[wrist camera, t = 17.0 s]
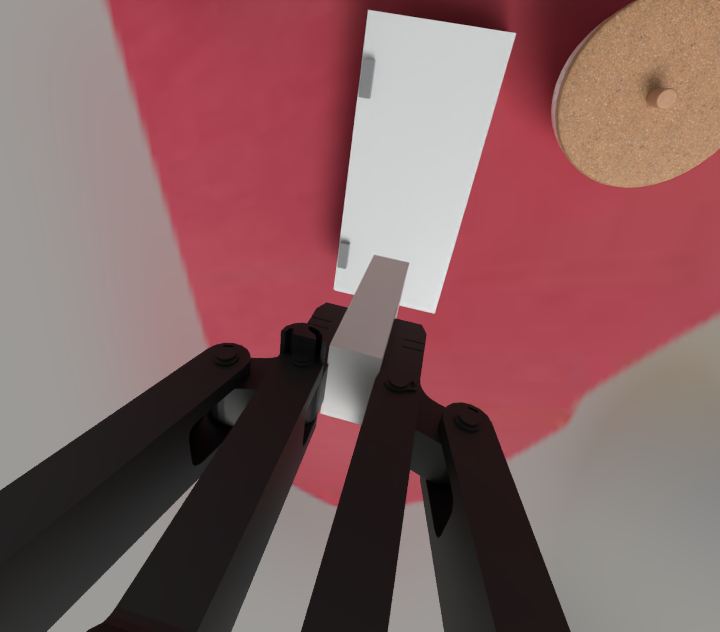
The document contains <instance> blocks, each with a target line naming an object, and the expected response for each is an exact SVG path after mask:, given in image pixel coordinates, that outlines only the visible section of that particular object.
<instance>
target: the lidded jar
mask: <svg viewBox="0 0 720 632" xmlns="http://www.w3.org/2000/svg"><path fill="white" fill-rule="evenodd" d="M551 121H552V126H553V131H554V135H555V137H556V140H557V142H558V145H559V146H560V148H561V149H562V151H563V153H564V154H565V155H566V157H567V158H568V160H569V161H570V162H571V163H572V164H573V165H574V166H575V167H576V169H577V170H579V171H580V172H581V173H583V174H584V175H586V176H587V177H588V178H590V179H592V180H595V181H597V182H599V183H602V184H606V185H609V186H614V187H625V188H629V187H643V186H648V185H653V184H657V183H660V182H663V181H667V180H670V179H672V178H674V177H676V176H679V175H681V174H683V173H685V172H687V171H689V170H690V169H692V168H694V167H695V166H697V165H699V164H700V163H702V162H703V161H704V160H706V159H707V158H708V157H709V156H711V155H712V154H713V153H715V152H716V151H717V150H718V149H719V148H720V0H635V1H633V2H631V3H630V4H628V5H626V6H625V7H623V8H622V9H620V10H619V11H617V12H616V13H614V14H613V15H612V16H610V17H609V18H607V19H605V20H604V21H603V22H602V23H600V24H599V25H598V26H597V27H596V28H595V29H593V30H592V31H591V32H590V33H589V34H588V35H587V36H586V37H585V38H584V39H583V40H582V42H581V43H580V44H579V45H578V46H577V47H576V49H575V50H574V51H573V53H572V54H571V55H570V57H569V58H568V60H567V62H566V63H565V65H564V67H563V69H562V71H561V73H560V75H559V78H558V80H557V83H556V86H555V89H554V93H553V97H552V106H551Z"/></svg>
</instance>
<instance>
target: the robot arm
mask: <svg viewBox="0 0 720 632" xmlns="http://www.w3.org/2000/svg"><path fill="white" fill-rule="evenodd" d="M408 267H409V262H404V261H400V260H396V259H391V258H387V257H383V256H378V255H374V256H373V258H372V260H371V262H370V264H369V266H368V268H367V270H366V272H365V274H364V276H363V278H362V280H361V282H360V284H359V286H358V288H357V290H356V292H355V294H354V297H353V299H352V301H351V303H350V305H349V307H348V308H347V307H343V306H339V305H334V304H330V303H325V304H323V305H321V306H320V307H318V308H317V309H316V310H315V312H314V313H313V315H312V317H311V318H310V320H309V321H308V323H295V324H291V325H288V326H286V327H285V328H284V329H283V330H281V344H280V354H279V356H278V357H274V358H250V353H249V351H248V350H247V349H246V348H244V347H243V346H241V345H238V344H235V343H222V344H217V345H214V346H212V347H210V348H208V349H206V350H205V351H204V352H202V353H201V354H199V355H198V356H196V357H195V358H193V359H192V360H190V361H189V362H187V363H186V364H185V365H183V366H182V367H180V368H179V369H177V370H176V371H174V372H173V373H171V374H170V375H169V376H167V377H166V378H164V379H163V380H161V381H160V382H158V383H157V384H155V385H154V386H152V387H151V388H149V389H148V390H147V391H145V392H144V393H142V394H141V395H139V396H138V397H136V398H135V399H133V400H132V401H130V402H129V403H128V404H126V405H125V406H123V407H122V408H120V409H119V410H117V411H116V412H114V413H113V414H112V415H110V416H108V417H107V418H106V419H104V420H103V421H101V422H100V423H98V424H97V425H95V426H94V427H92V428H91V429H89V430H88V431H86V432H85V433H84V434H82V435H81V436H79V437H78V438H77V439H75V440H73V441H72V442H70V443H69V444H68V445H66V446H65V447H63V448H62V449H60V450H59V451H57V452H56V453H54V454H53V455H51V456H50V457H48V458H47V459H46V460H44V461H43V462H41V463H40V464H38V465H37V466H36V467H34V468H32V469H31V470H29V471H28V472H27V473H25V474H24V475H22V476H21V477H19V478H18V479H16V480H15V481H13V482H12V483H10V484H9V485H7V486H6V487H5V488H3V489H2V490H0V632H47V630H49V629H50V628H51V627H52V626H53V625H54V624H55V623H56V622H57V620H59V618H61V617H62V616H63V615H64V613H66V611H68V609H70V607H71V606H72V605H73V604H74V603H75V602H76V601H77V600H78V599H79V598H80V597H81V596H82V595H83V594H84V593H85V592H86V591H87V590H88V589H89V588H90V587H91V586H92V585H93V584H94V583H95V582H96V581H97V580H98V579H99V578H100V577H101V576H102V575H103V574H104V573H105V572H106V571H107V570H108V569H109V568H110V567H111V566H112V565H113V564H114V563H115V562H116V561H117V560H118V559H119V558H120V557H121V556H122V555H123V554H124V553H125V552H126V551H127V550H128V549H129V548H130V547H131V546H132V545H133V544H134V543H135V542H136V541H137V540H138V539H139V538H140V537H141V536H142V535H143V534H144V533H145V532H146V531H147V530H148V529H149V528H150V527H151V526H152V525H153V524H154V523H155V522H156V521H157V520H158V519H159V518H160V517H161V516H162V515H163V514H164V513H165V512H166V511H167V510H168V509H169V508H170V507H171V506H172V505H173V504H174V503H175V502H176V501H177V500H178V499H179V498H180V497H181V496H182V495H183V494H184V493H185V492H186V491H187V490H188V489H189V488H190V487H191V486H192V485H193V484H194V483H195V482H196V481H197V480H198V479H199V480H198V482H197V483H196V484H195V486H194V488H193V489H192V491H191V492H190V494H189V495H188V497H187V498H186V500H185V501H184V503H183V505H182V506H181V508H180V509H179V511H178V512H177V514H176V515H175V517H174V518H173V520H172V521H171V523H170V525H169V526H168V528H167V529H166V531H165V532H164V534H163V535H162V537H161V539H160V540H159V542H158V543H157V545H156V546H155V548H154V549H153V551H152V552H151V554H150V556H149V557H148V559H147V560H146V562H145V563H144V565H143V566H142V568H141V569H140V571H139V573H138V574H137V576H136V577H135V579H134V580H133V582H132V583H131V585H130V586H129V588H128V589H127V591H126V593H125V594H124V596H123V597H122V599H121V600H120V602H119V603H118V605H117V606H116V608H115V609H114V611H113V612H112V613H111V615H110V616H109V617H108V618H107V619H106V620H105V621H104V622H103V623H101V624H99V625H97V626H95V627H93V628H91V629H89V630H88V631H87V632H231V631H232V628H233V626H234V623H235V621H236V619H237V616H238V614H239V611H240V609H241V606H242V604H243V601H244V599H245V597H246V594H247V592H248V589H249V587H250V585H251V582H252V580H253V577H254V575H255V573H256V570H257V568H258V565H259V563H260V560H261V558H262V555H263V553H264V551H265V548H266V546H267V543H268V541H269V539H270V536H271V534H272V531H273V529H274V526H275V524H276V522H277V519H278V517H279V514H280V512H281V510H282V507H283V505H284V502H285V500H286V497H287V495H288V493H289V490H290V488H291V485H292V483H293V480H294V478H295V476H296V473H297V471H298V468H299V466H300V464H301V461H302V459H303V456H304V454H305V451H306V449H307V447H308V444H309V442H310V439H311V437H312V434H313V432H314V430H315V427H316V421H317V414H318V412H319V410H320V407H321V405H322V407H321V414H324V415H328V416H332V417H335V418H339V419H342V420H346V421H350V422H353V423H357V424H361V428H360V432H359V435H358V439H357V442H356V446H355V449H354V452H353V456H352V459H351V463H350V466H349V469H348V473H347V476H346V480H345V483H344V487H343V490H342V493H341V497H340V500H339V504H338V507H337V510H336V514H335V518H334V521H333V524H332V528H331V531H330V534H329V538H328V541H327V545H326V548H325V552H324V555H323V558H322V562H321V565H320V568H319V572H318V576H317V579H316V583H315V586H314V589H313V592H312V596H311V599H310V603H309V606H308V609H307V613H306V616H305V620H304V623H303V627H302V630H301V632H388V625H389V618H390V610H391V603H392V596H393V588H394V582H395V574H396V567H397V560H398V553H399V545H400V537H401V531H402V523H403V516H404V509H405V502H406V495H407V487H408V480H409V473H410V470H412V471H414V472H415V473H417V474H418V475H420V482H421V488H422V495H423V501H424V507H425V513H426V520H427V526H428V532H429V538H430V545H431V551H432V558H433V564H434V570H435V577H436V583H437V589H438V595H439V602H440V607H441V614H442V621H443V627H444V632H571V631H570V629H569V626H568V624H567V621H566V618H565V616H564V613H563V610H562V608H561V605H560V602H559V600H558V597H557V595H556V592H555V589H554V586H553V584H552V581H551V579H550V576H549V573H548V571H547V568H546V566H545V563H544V560H543V557H542V555H541V552H540V549H539V547H538V544H537V541H536V539H535V536H534V534H533V531H532V528H531V526H530V523H529V520H528V518H527V515H526V512H525V510H524V507H523V504H522V502H521V499H520V496H519V494H518V491H517V488H516V486H515V483H514V480H513V478H512V475H511V473H510V470H509V467H508V464H507V462H506V459H505V457H504V454H503V451H502V449H501V446H500V443H499V441H498V438H497V435H496V433H495V430H494V427H493V425H492V423H491V421H490V419H489V418H488V416H487V415H486V414H485V413H484V412H483V411H481V410H480V409H479V408H477V407H475V406H473V405H470V404H466V403H452V404H450V405H448V406H447V407H444V406H442V405H440V404H438V403H436V402H435V401H433V400H432V399H430V398H429V397H428V396H427V395H426V394H425V393H424V391H423V390H422V388H421V385H420V376H421V369H422V362H423V355H424V348H425V341H426V333H425V330H424V328H423V326H422V325H420V324H416V323H412V322H408V321H404V320H400V319H396V317H397V313H398V309H399V305H400V301H401V296H402V292H403V288H404V284H405V279H406V275H407V271H408Z"/></svg>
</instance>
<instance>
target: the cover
mask: <svg viewBox="0 0 720 632" xmlns="http://www.w3.org/2000/svg"><path fill="white" fill-rule="evenodd" d="M515 36H516V33H512V32H505V31H499V30H493V29H486V28H480V27H474V26H467V25H461V24H455V23H448V22H442V21H436V20H429V19H423V18H417V17H410V16H404V15H398V14H391V13H385V12H379V11H372V10H368V15H367V23H366V31H365V40H364V48H363V56H362V64H361V72H360V80H359V88H358V96H357V105H356V113H355V121H354V129H353V137H352V145H351V153H350V161H349V170H348V178H347V186H346V194H345V202H344V210H343V218H342V227H341V235H340V243H339V251H338V259H337V267H336V275H335V283H334V290H336V291H340V292H344V293H349V294H353V295H354V294H355V292H356V290H357V288H358V286H359V284H360V282H361V280H362V278H363V276H364V274H365V272H366V270H367V268H368V266H369V264H370V262H371V260H372V258H373V256H374V255H378V256H383V257H387V258H391V259H396V260H400V261H404V262H409V267H408V271H407V275H406V279H405V284H404V288H403V292H402V296H401V301H400V306H404V307H409V308H413V309H417V310H421V311H426V312H430V313H434V314H435V310H436V307H437V304H438V300H439V297H440V293H441V290H442V286H443V283H444V280H445V276H446V273H447V269H448V266H449V262H450V259H451V256H452V252H453V249H454V245H455V242H456V238H457V235H458V232H459V228H460V225H461V221H462V218H463V214H464V211H465V208H466V204H467V201H468V197H469V194H470V190H471V187H472V183H473V180H474V177H475V173H476V170H477V166H478V163H479V159H480V156H481V153H482V149H483V146H484V142H485V139H486V135H487V132H488V129H489V125H490V122H491V118H492V115H493V111H494V108H495V105H496V101H497V98H498V94H499V91H500V87H501V84H502V81H503V77H504V74H505V70H506V67H507V63H508V60H509V56H510V53H511V50H512V46H513V43H514V39H515Z"/></svg>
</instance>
